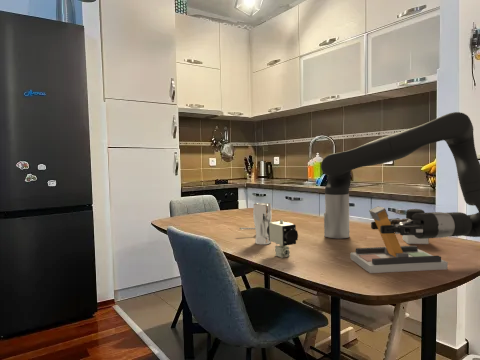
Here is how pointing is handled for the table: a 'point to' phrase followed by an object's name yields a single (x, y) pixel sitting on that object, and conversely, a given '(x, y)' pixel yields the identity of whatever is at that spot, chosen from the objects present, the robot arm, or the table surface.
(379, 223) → the lever
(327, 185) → the robot arm
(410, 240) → the medicine bottle
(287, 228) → the pneumatic valve
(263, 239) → the beer glass
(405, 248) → the dark grey mounting rails
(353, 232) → the table surface
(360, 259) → the breaker panel
